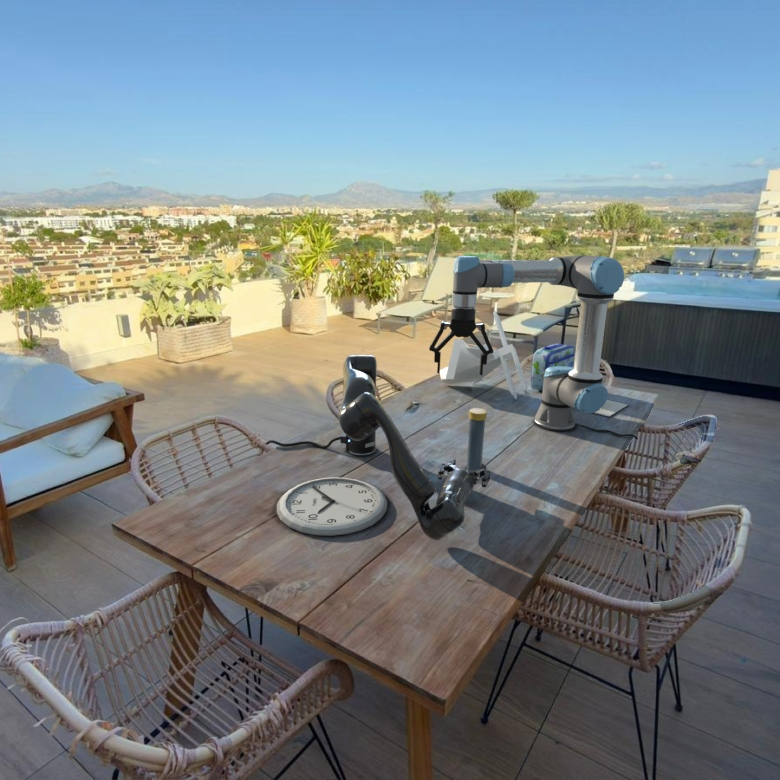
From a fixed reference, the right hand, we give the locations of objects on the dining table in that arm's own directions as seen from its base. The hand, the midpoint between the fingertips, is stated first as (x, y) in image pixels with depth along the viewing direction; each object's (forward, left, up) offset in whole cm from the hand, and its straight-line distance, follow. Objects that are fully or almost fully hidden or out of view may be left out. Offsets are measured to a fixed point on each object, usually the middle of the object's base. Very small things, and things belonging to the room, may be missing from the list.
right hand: (459, 373), depth 169 cm
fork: (+18, -46, -28) cm, 57 cm away
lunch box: (-46, -84, -28) cm, 100 cm away
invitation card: (-63, -59, -28) cm, 91 cm away
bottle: (-6, +11, -28) cm, 31 cm away
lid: (-6, +11, -9) cm, 15 cm away
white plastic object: (-11, -71, -28) cm, 77 cm away
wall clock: (+33, +40, -28) cm, 59 cm away
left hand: (-4, +21, -22) cm, 31 cm away
